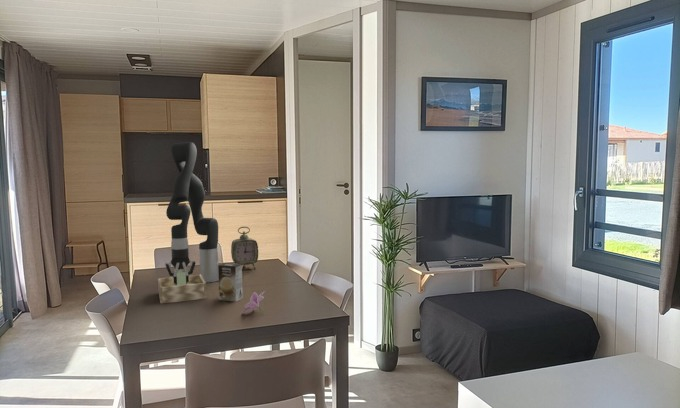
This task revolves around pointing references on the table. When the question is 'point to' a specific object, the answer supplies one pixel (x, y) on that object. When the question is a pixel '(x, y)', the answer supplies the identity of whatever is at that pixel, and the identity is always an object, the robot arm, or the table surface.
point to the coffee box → (230, 281)
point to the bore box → (182, 289)
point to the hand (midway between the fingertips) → (181, 283)
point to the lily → (254, 302)
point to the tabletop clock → (244, 250)
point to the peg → (181, 278)
